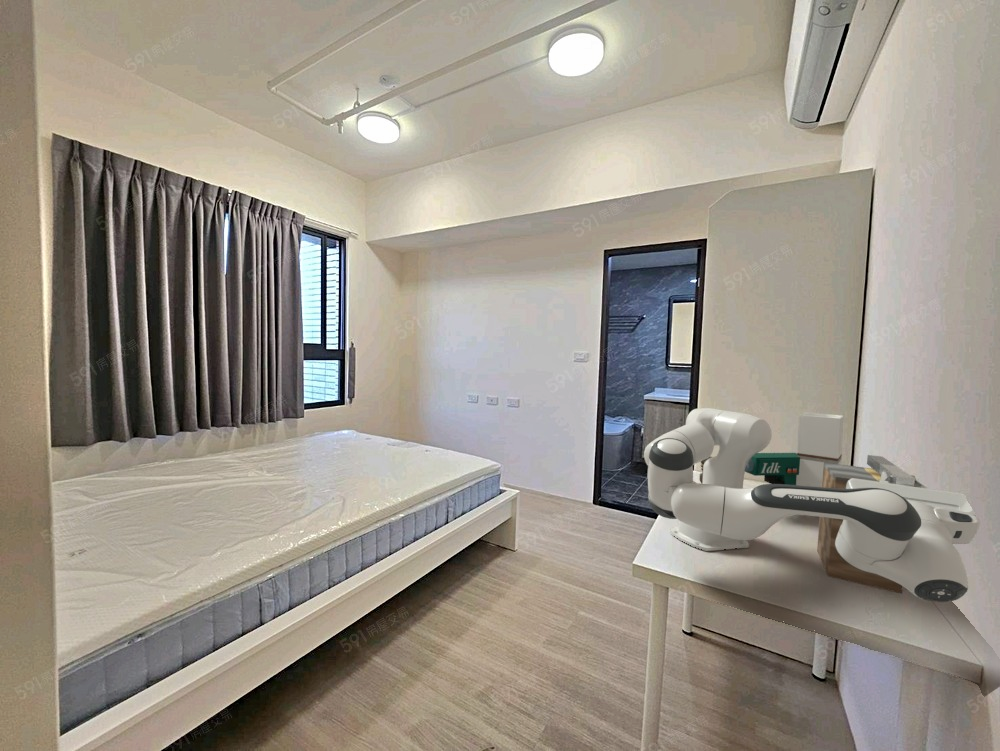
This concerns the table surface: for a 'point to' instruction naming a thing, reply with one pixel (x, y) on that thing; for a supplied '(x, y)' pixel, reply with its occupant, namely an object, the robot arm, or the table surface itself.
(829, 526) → the stand
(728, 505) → the robot arm
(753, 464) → the power tool
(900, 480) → the brushed metal bar
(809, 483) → the white cradle pedestal
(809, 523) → the table surface
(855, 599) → the table surface
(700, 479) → the brown carved figurine
